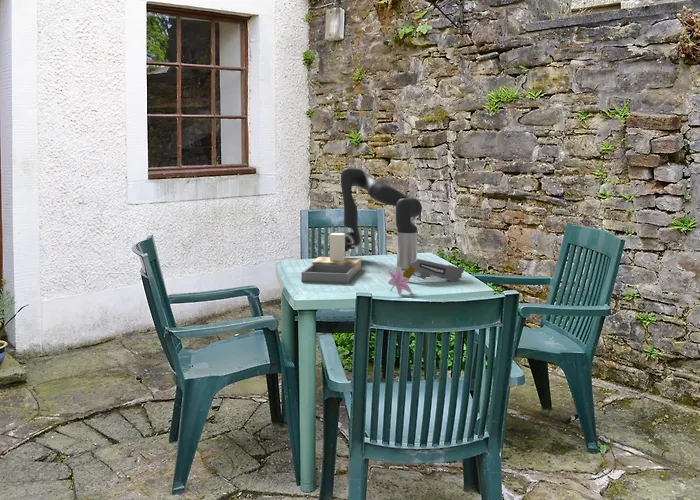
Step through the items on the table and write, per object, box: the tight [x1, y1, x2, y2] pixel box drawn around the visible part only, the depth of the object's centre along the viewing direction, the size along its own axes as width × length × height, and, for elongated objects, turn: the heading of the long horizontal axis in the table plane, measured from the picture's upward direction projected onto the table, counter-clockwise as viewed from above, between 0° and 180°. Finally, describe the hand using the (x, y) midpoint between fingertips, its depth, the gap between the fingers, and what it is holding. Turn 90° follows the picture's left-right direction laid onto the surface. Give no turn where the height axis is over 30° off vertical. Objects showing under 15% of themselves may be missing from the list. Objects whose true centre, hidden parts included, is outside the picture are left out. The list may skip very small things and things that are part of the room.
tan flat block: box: [311, 256, 362, 275], centre depth 346 cm, size 20×16×5 cm
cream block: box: [329, 232, 346, 261], centre depth 346 cm, size 6×6×12 cm
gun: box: [403, 258, 465, 282], centre depth 323 cm, size 3×25×15 cm, turn 100°
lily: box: [387, 266, 413, 296], centre depth 298 cm, size 12×12×10 cm
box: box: [300, 263, 357, 284], centre depth 327 cm, size 20×22×4 cm
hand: (338, 248), depth 349 cm, fingers closed
